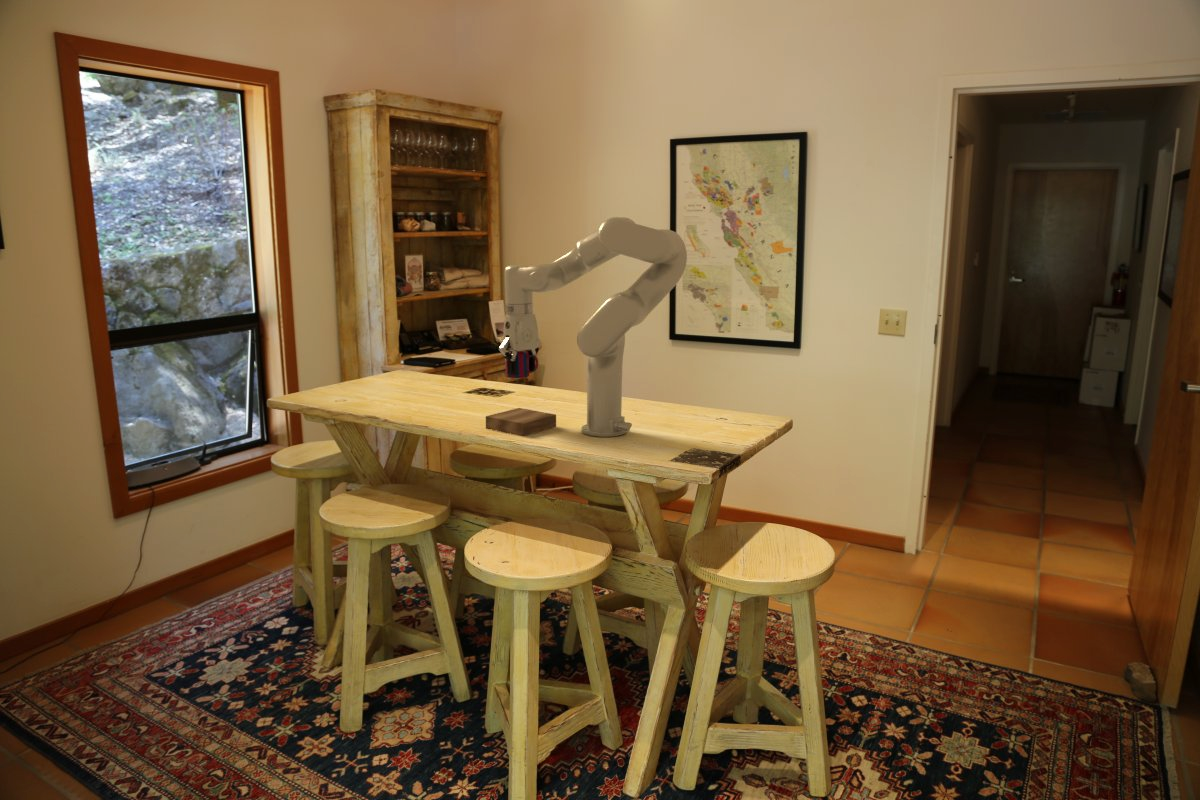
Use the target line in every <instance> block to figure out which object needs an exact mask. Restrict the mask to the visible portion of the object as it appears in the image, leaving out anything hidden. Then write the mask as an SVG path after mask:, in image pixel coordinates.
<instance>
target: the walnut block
mask: <svg viewBox="0 0 1200 800" xmlns="http://www.w3.org/2000/svg"><path fill="white" fill-rule="evenodd" d="M556 427H557V414H555V413H550V412H549V413H548V412H543V411H538V410H532V409H527V408H522V407H518V408H514V409H509V410H506V411H501V412H497V413H492V414H489V415H486V416H485V429H486V430H490V429H492V430H491V431H495V430H497V431H496V432H500V431H501V433H506V434H510V433H511V434H510V435H514V434H515V435H516V436H520V437H525V436H529V435H532V434H536V433H539V432H543V431H547V430H550V429H554V428H556Z"/></svg>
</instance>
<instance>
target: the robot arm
mask: <svg viewBox="0 0 1200 800" xmlns="http://www.w3.org/2000/svg"><path fill="white" fill-rule="evenodd" d="M684 242H685V241H684V240H683V238H682V236H681V235H679V234H678V233H677V232H676V231H673V230H670V229H665V228H664V229H657V228H653V227H650V226H645V225H642V224H637V223H636V222H635V221H634V220H633V219H631V218H628V217H624V216H623V217H620V216H619V217H618V216H616V217H615V216H614V217H610V218H607V219H606V220H604V221H603V223H602V224H601V225H600V226H599V228H598V229H597V230H595V231H593V232H591V233H590V234H587V235H586V236H584V237H582V238H580V239H578V240H577V241H576V243H575V246H574V248H573V249H572V250H570V251H569V252H568V253H566V254H565V255H563V256H561V257H560V258H558V259H556V260H554V261H552V262H550V263H543V264H535V265H527V264H513V265H510V264H509V265H508V266H506V267H505V269H504V292H505V293H504V295H505V297H504V298H505V307H504V309H503V310H504V312H505V315H504V319H503V320H504V322H503V333H502V334H503V335H502V336H503V340H502V341H503V342H502V343H501V344H500V346H499V347H498V351H499V352H500V354H501V355H502V357H503V358H504V361H505V360H507V373H508V374H509V375H517V362H516V361H514V360H515V357H516V354H517V351H518V352H519V351H527V352H529V355H535V356H536V357H537V356H538V355H537V354H538V352H539V350H540V347H541V345H542V344H543V343H542V341H541V340H540V339H539V329H538V322H537V321H538V320H537V317H536V314H535V313H534V304H533V293H538V294H539V293H547V292H550V291H556V290H558V289H561V288H563V287H565V286H567V285H568V284H570V283H572V282H574V281H576V280H578V279H579V278H581V277H583V276H584V275H586V274H587V273H590V272H591V271H593V270H594V269H596V268H598V267H599V266H601V265H603V264H605V263H607V262H609V261H610V260H612V259H614V258H616V257H618V256H619V255H622V256H626V257H629V258H632V259H636V260H640V261H642V262H645V263H649V264H651V265H650V266H649V267H648V268H647V269H645V271H644V272H643V273H642V274H641V275H640V276H639V277H638V278H637V279H636V280H635V282H633V284H631V285H630V286H629V287H628V288H627V289H626V290H623V291H620V292H617V293H615V294H613V295H611V296H610V297H608V298H607V299H606V300H605V301H604V302H603V304H602V305H601V306H600V307H599V308H598V309H596V311H595V312H594V313H593V314H592V315H591V316H590V317H589V318H588V319H587V320H586V321H585V322H584V324H582V326H581V327H580V328H579V331H578V333H577V336H576V343H577V347H578V349H579V351H580V352H581V353H582V354H583V355H585V356H586V357H588V358H587V359H588V360H587V377H586V378H587V381H586V382H587V385H586V386H587V387H586V389H587V390H586V392H587V393H586V394H587V396H586V402H587V403H586V410H587V411H586V424H583V425H582V426H581V428H580V429H581V431H580V432H581V433H582V434H583V435H587V436H591V437H606V438H607V437H617V436H622V435H624V434H626V433H628V432H629V431H630V430H631V428H632V425H633V424H632V422H627V421H626V420H625V416H622V405H623V404H622V399H623V395H622V394H623V393H622V392H623V391H622V390H623V389H622V388H623V362H624V352H625V346H626V345H625V344H626V343H625V342H626V334H627V332H629V330H631V328H633V327H636V326H638V325H641V323H643V322H644V320H645V319H646V318H647V317H648V316H649V315H650V313H651V312H652V311H653V310H654V309H655V308H656V307H657V306H658V305H659V304H660V303H661V302H662V301H663V300H664V299H665V297H666V296H667V295H668V294H669V293H670V292H671V291H672V290H673V289H674V288H675V286H677V284H678V283H679V281H680V280H681V278H682V277H683V274H684V272H685V270H686V268H687V267H686V266H687V261H688V254H687V253H688V252H687V249H686V245H685V243H684ZM511 352H512V355H511ZM535 366H536V361H535V358H534V357H529V371H532V370H534V368H535Z"/></svg>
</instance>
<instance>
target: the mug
mask: <svg viewBox="0 0 1200 800" xmlns="http://www.w3.org/2000/svg"><path fill="white" fill-rule="evenodd" d="M511 355H512V352H511ZM529 357H534V358H535V368H534V370H532V371H529ZM514 361H516V362H517V375H509V374H508V373H507V360H505V359H504V365H505V377H506V378H509V379H510V378H511V379H522V378H528V377H530V374H532V373H534V372H536V370H537V369H538V367H539V359H538V357H537V356H535V355H529V352H527V351H519V352H518V351H517V354H516V357H515V360H514Z"/></svg>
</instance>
